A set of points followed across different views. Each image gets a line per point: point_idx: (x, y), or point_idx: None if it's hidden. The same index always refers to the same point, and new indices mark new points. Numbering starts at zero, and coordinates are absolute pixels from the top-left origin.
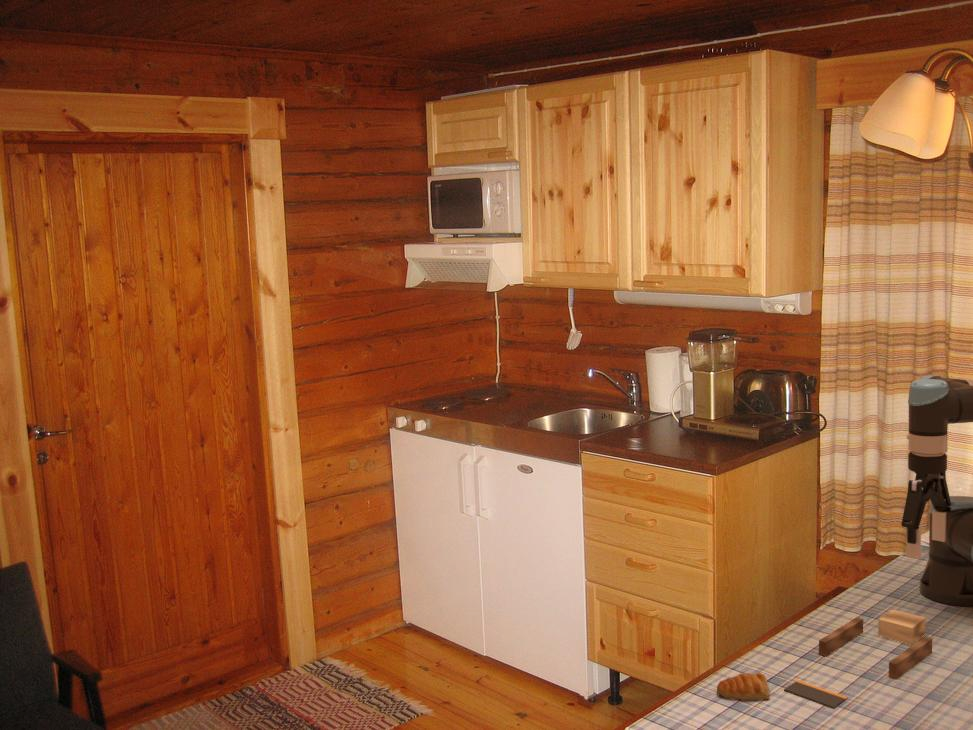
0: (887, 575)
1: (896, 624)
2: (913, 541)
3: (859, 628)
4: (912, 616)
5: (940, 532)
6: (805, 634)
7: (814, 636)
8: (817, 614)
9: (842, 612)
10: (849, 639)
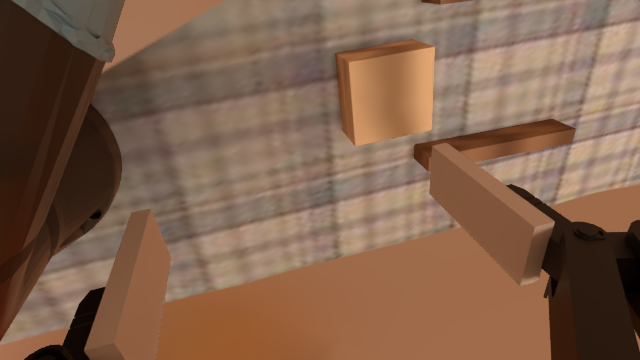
0: None
1: (432, 87)
2: (526, 193)
3: None
4: (365, 89)
5: (149, 256)
6: None
7: None
8: (390, 241)
9: (350, 225)
10: (471, 135)
